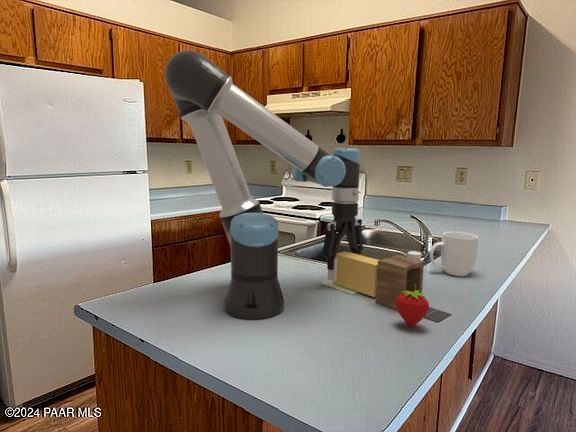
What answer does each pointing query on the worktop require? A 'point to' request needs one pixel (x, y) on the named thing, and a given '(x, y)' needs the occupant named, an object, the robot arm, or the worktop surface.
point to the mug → (457, 252)
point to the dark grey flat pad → (436, 315)
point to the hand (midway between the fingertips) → (342, 276)
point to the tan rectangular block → (357, 273)
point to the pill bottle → (414, 255)
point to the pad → (338, 287)
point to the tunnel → (397, 278)
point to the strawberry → (412, 307)
